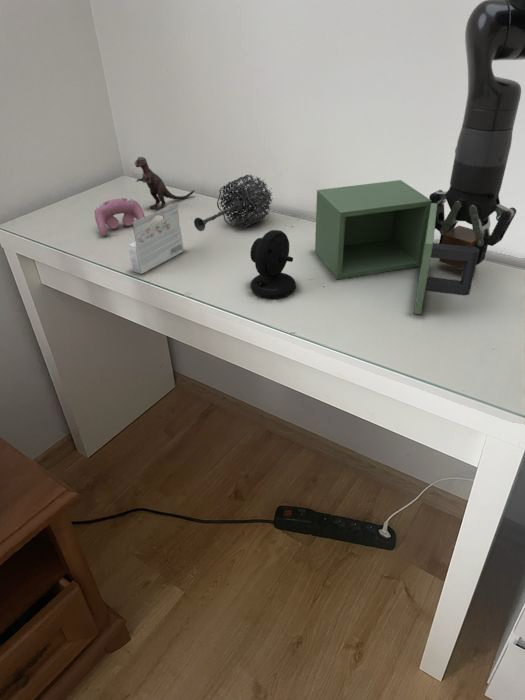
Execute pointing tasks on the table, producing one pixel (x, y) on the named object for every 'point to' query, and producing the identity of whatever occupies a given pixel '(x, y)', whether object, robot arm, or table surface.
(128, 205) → the video game controller
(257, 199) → the massage brush
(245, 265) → the table surface
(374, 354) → the table surface
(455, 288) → the door
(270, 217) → the table surface
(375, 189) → the cupboard
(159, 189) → the dinosaur model
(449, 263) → the block
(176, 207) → the ink cartridge box
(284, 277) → the webcam
